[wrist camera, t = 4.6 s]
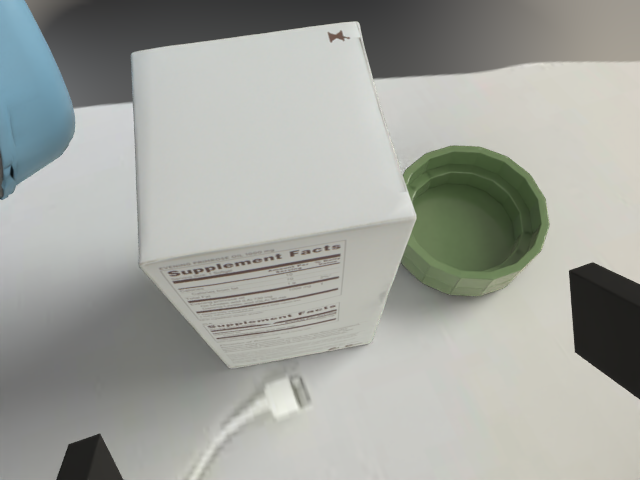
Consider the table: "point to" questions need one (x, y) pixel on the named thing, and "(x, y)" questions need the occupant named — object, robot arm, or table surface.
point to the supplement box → (268, 190)
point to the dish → (472, 220)
